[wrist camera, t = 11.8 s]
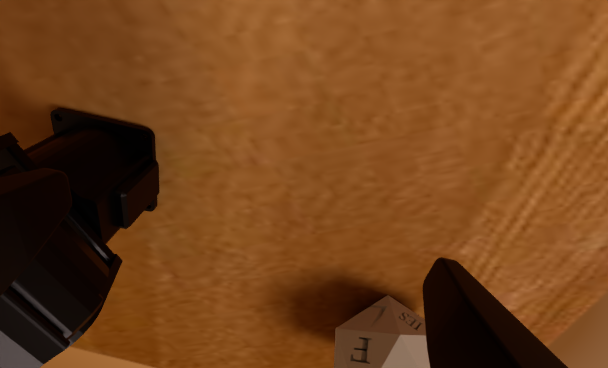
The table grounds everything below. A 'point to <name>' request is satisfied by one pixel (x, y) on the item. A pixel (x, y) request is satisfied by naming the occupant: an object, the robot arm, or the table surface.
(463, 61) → the table surface
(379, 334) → the die
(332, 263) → the table surface
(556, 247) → the table surface
